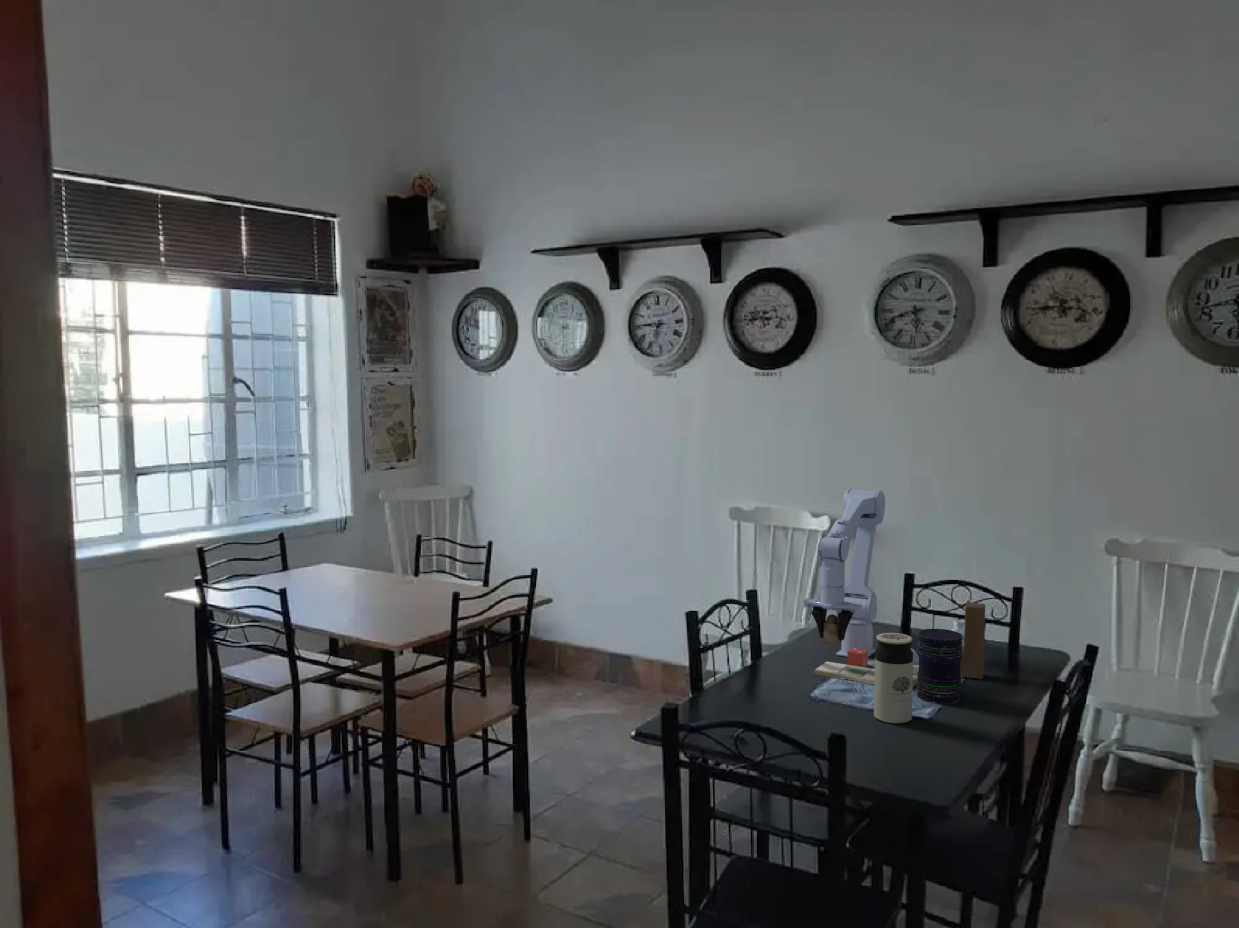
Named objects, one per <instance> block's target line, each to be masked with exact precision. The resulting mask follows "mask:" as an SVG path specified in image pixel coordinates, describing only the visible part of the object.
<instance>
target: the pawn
mask: <svg viewBox="0 0 1239 928" xmlns="http://www.w3.org/2000/svg"><path fill="white" fill-rule="evenodd" d="M822 639H823V640H822V641H823V643H824V644H828V645H839V644H842V641H840V640H839V620H838V617H837V615H836V614H833V613H832V614H829V615H828V616H826V621H824V622H823V638H822Z"/></svg>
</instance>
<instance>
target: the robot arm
mask: <svg viewBox="0 0 1239 928" xmlns="http://www.w3.org/2000/svg"><path fill="white" fill-rule="evenodd" d="M843 509H844V511H843V513H842V516H841V518H839V519H836V521H835V522H834V523H833V525H832V527H831V529H830V530H829V533H828V534H827V535H826V536H824V537H823V538H820V539H819V541H818V545H817V546H818V547H817V556H818V560H819V561H818V562H819V567H820V568H821V572H820V573H821V574H820V575H821V576H820V598H808V597H807V598H804V599H803V608H812V610H810V611H811V615H812V618H813V619H814V621H815V623H816V626H817V629H818V634H819V638H821V639H823V622H824V621H826V620H827V613H828V610H829V611H835V615H836V616H837V618H838V621H839V640H840V641H841V649H840V650H839V651H837V652H836V653H835V655H836V656H841V657H847V658H848V651H849V650H850V649H852V648H858V649H865V650H868V658H869V657H870V656H871V655H873V654H875V650H876V648H873V646H874V645H873V642H874V639H873V637H874V629H873V628H874V627H873V625H872V622H873V621H875V619H876V617H877V613H878V606H877V605H878V602H877V601H878V600H877V599H878V596H877V594H876V592H874V590H872V589H871V587H870V586H869V579H870V571H871V565H872V558H873V557H872V556H873V551H874V550H873V549H874V541H875V534H876V531H877V530H876V529H877V526H879V525H880V524H883V520H884V517H885V510H886V497H885V494H884V492H883V491H882V490H863V489H852V488H847V490H846V491H845V492H844V495H843ZM854 536H855V540H854V541H855V542H854V548H853V553H852V554H853V555H852V562H851V567H850V568H851V569H850V577H849V583H847V584H846V585H845V579H846V578H845V571H846V569H845V567H846V564H845V563H846V561H847V559H848V558H849V551H850V547H851V542H852V540H853V538H854Z"/></svg>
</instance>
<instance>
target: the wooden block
mask: <svg viewBox="0 0 1239 928" xmlns="http://www.w3.org/2000/svg"><path fill="white" fill-rule="evenodd" d="M985 625H986V604H985V603H978V602H966V603H965V607H964V637H963V638H964V639H963V640H964V642H963V645H962V660H961V663H960V675H961V676H962V677H961V678H965V677H967V679H974V678H977V679H976V680H983V679H984V669H985V668H984V664H985V661H984V660H985V627H986V626H985Z"/></svg>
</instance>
